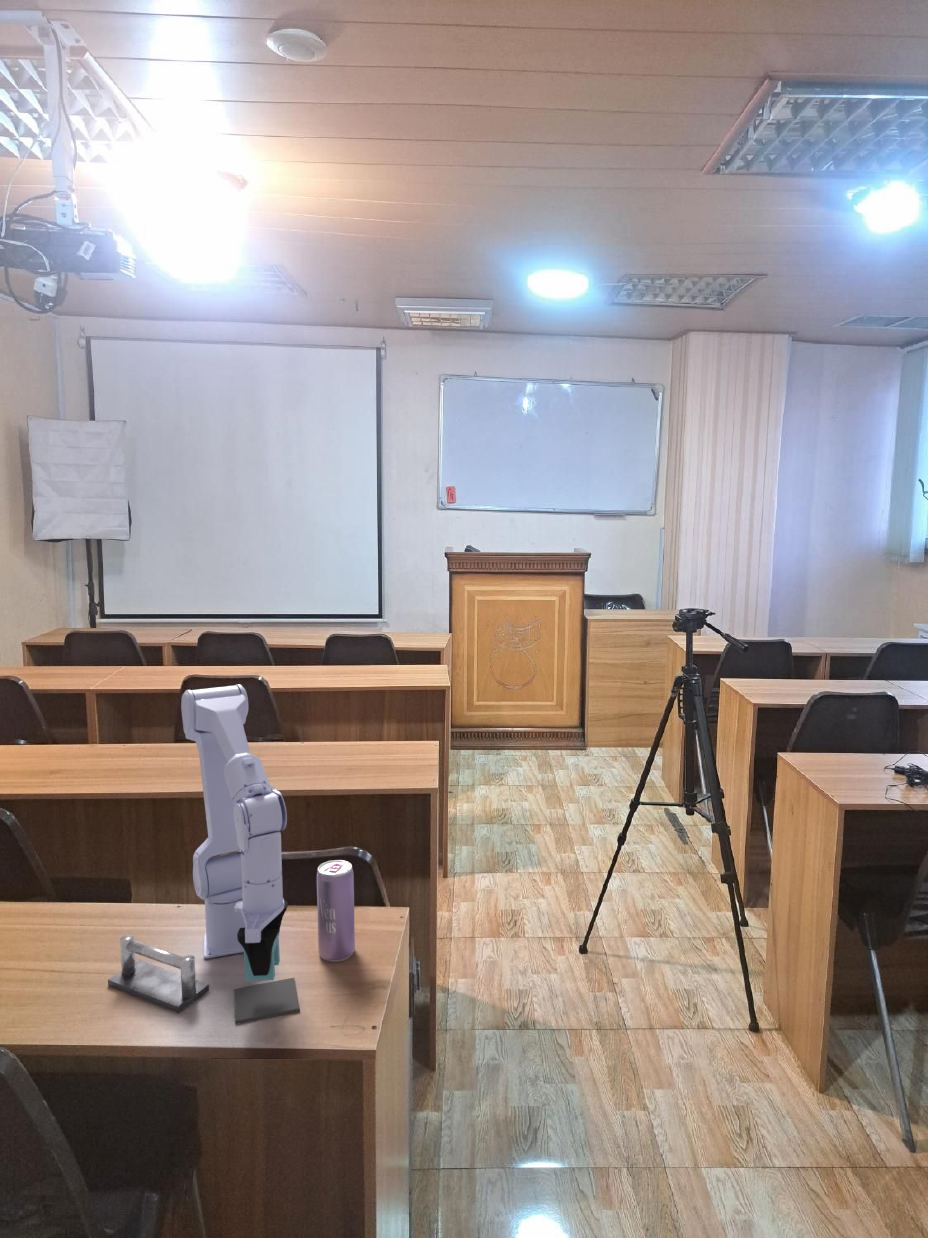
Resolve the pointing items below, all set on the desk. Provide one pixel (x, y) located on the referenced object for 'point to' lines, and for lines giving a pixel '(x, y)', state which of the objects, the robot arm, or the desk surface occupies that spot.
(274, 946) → the teal block
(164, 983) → the stand
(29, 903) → the desk surface
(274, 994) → the mat
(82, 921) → the desk surface
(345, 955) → the beverage can
